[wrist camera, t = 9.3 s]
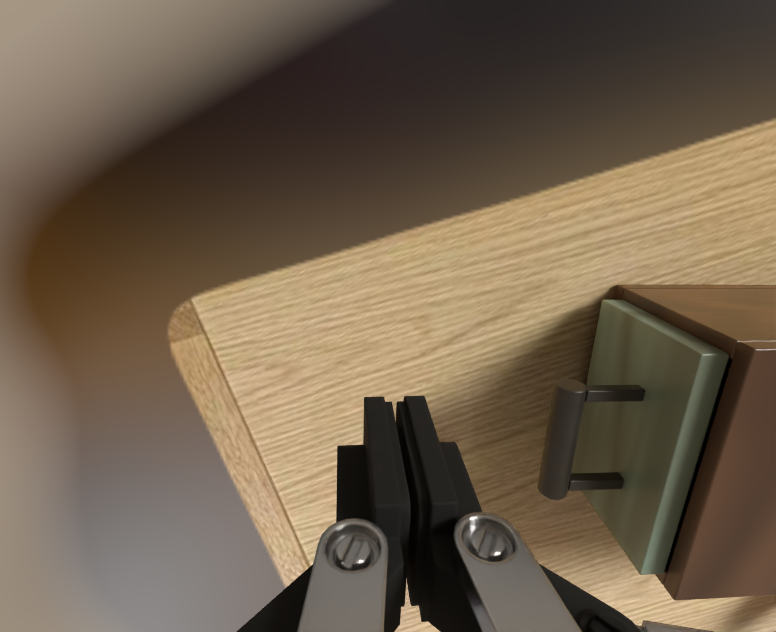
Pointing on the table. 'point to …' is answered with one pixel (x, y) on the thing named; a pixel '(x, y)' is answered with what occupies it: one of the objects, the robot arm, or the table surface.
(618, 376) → the drawer
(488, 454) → the table surface
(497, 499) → the table surface
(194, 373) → the table surface
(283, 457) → the table surface
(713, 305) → the cabinet
